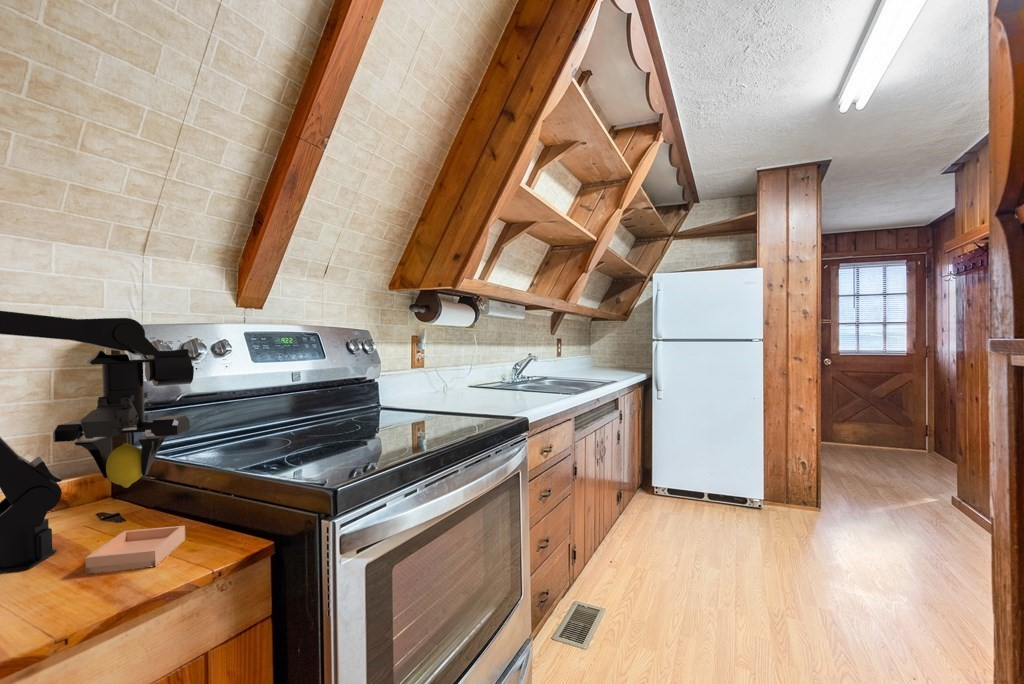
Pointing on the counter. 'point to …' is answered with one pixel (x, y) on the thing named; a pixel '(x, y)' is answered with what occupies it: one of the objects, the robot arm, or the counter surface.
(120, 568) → the dish
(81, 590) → the counter surface
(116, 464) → the lemon
